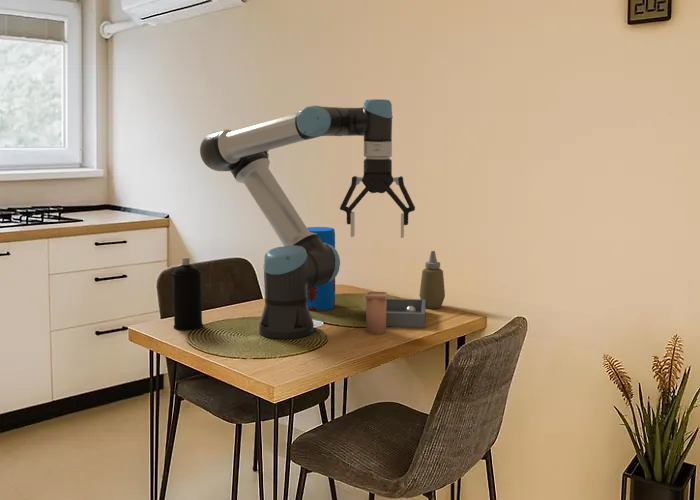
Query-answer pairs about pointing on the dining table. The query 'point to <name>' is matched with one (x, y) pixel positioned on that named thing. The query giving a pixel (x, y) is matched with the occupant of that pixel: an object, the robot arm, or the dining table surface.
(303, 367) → the dining table surface
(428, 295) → the squeeze bottle
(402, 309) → the tray
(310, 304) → the thermos
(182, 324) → the aerosol can
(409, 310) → the ball
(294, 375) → the dining table surface
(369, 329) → the shaker
